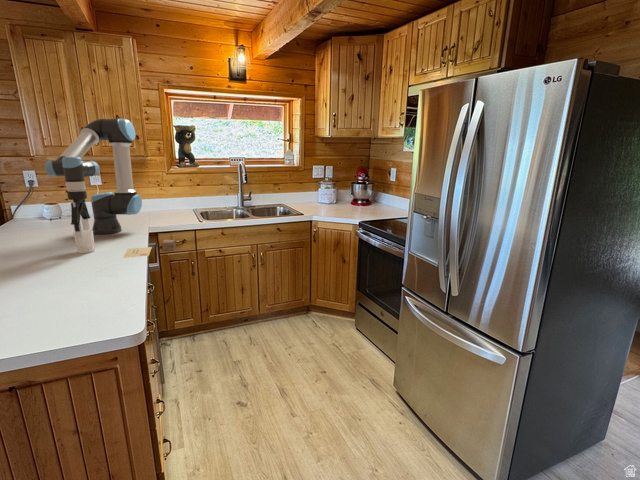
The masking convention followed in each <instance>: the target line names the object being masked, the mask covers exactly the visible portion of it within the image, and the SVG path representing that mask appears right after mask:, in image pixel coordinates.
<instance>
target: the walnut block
mask: <svg viewBox="0 0 640 480" xmlns="http://www.w3.org/2000/svg"><path fill="white" fill-rule="evenodd" d="M161 243H162V252H164V253H165V252H175V251H176V249H177V247H176V245H177V244H176V239H164V240H163V241H162V242H161Z"/></svg>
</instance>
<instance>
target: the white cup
mask: <svg viewBox="0 0 640 480" xmlns="http://www.w3.org/2000/svg"><path fill="white" fill-rule="evenodd" d="M82 235H83V238H76V237H75V231H74V232H73V236H74V241H75V245H76V248H77V252H78V253H79V254H89V253H93V252H95V239H94V237H95V236H94V234H93V231H92V229H90V230H83V229H82Z"/></svg>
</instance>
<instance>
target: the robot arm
mask: <svg viewBox="0 0 640 480" xmlns="http://www.w3.org/2000/svg"><path fill="white" fill-rule="evenodd" d="M135 129H136V128H135V127H134V125H133V124H132V122H131V121H130V120H128V119H126V118H98V119H95V120H93V121H91V122H89V123H87V124H86V125H85V126H84V127H83V128H82V129H80V131H79V135H78V136H77V137H76V138H74V141H72V142H71V144H70V145H69V146H68V147H66V148H65V150H63V152H62V153H61V154H60V155H59V156H58V157H57V159H55V160H48V161H46V162H45V164H44V170H45V172H46V174H47V175H49V176H51V177H57V178H58V177H64V179H65V180H64V181H65V183H64V186H65V188H66V190H67V192H66V194H67V200H69V201H72V202H71V203H70V209H71V217H70V218H71V219H70V221H71V222H70V225H73V228H74V232H75V237H76V238H83V235H82V230H92V231H93V235H110V234H116V233H120V232H122V225H121V223H120V222H119V220H118V217H117V215H119V216H120V215H126V216H130V215H137V214H138V213H140V212H141V209H142V205H143V201H142V200H143V199H142V197H141V195H139V194H137V193H138V192H137V190H136V189H134V179H133V171H132V161H131V160H132V159H131V150H130V147H131V146H132V144H133V143H132V142H133V141H134V140H135V139H136V130H135ZM101 141H108V144H109V146H112V156H113V164H114V174H115V182H116V190H114V191H110V192H109V191H108V192H107V191H106V192H102V193H101V192H100V193H96V194H95V193H94V194H92V195H91V198H90V203H91V207H92V213H93V219H94V220H93V225H92V228H91V229H90V227H91V226H90V221H89V220H90V219H91V216H90V213H89V211H88V207H87V204H86V199H87V197H88V195H87V191H86V190H87V187H86V181H85V178H86V177H94V176H97V175H98V174H99V173H100V165H99V164H98V162H96V161H94V160H82V159H83V158H84V156H85V155H86V154H87V152H89V151H90V149H91V148H92V147H93V146H94V145H97V144H98V143H99V142H101ZM75 237H74V238H75Z"/></svg>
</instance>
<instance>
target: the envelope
mask: <svg viewBox="0 0 640 480" xmlns="http://www.w3.org/2000/svg"><path fill="white" fill-rule="evenodd" d="M152 249H153V247H152V246H147V247H145V246H144V247H134V248H127V250H126V251H125V253H124V255H123V257H122V259H123V258H125V259H126V258H137V257H138V258H139V257H150V253H151V250H152Z"/></svg>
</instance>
